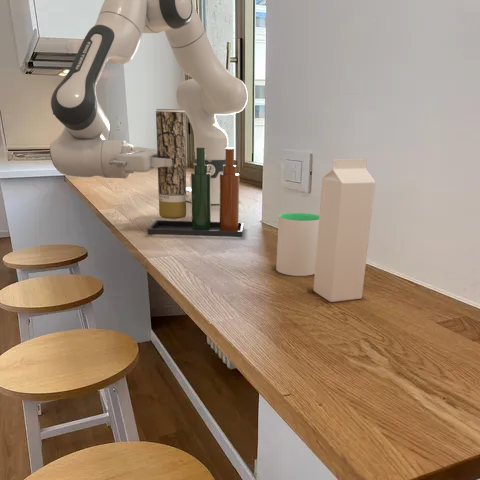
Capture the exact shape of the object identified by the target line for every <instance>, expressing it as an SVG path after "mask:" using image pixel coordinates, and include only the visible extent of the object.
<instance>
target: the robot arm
mask: <svg viewBox="0 0 480 480" xmlns="http://www.w3.org/2000/svg"><path fill="white" fill-rule="evenodd" d="M161 32H164V33H165V36H166V39H167V41H168V44H169V46H170V48H171V50H172V53H173V55H174V58H175V60H176V62H177V64H178V67H179V68H180V70H181V71H182V72H183V73H184V74H185V75H186V76H188V77H190V78H189V79H186V80H183V81H181V82H180V83H179V84H178V86H177V89H176V92H175V93H176V94H175V96H176V97H175V98H176V102H177V105H178V107H179V108H180V110H184V111H185V116H186V117H187V119H188V120H189V123H190V126H191V128H192V132H193V139H194V158H193V163H192V165H193V166H194V165H197V155H196V148H197V147H204V148H205V165H207V173H210V174H211V205H220V174H222V173H223V165H225V163H226V148H229V137H228V134H227V132H226V131H225V130H224V129H223V128H221V127H220V126H219V124H218V122H217V118H216V115H217V116H229V115H234V114H238V113H240V112H242V111H243V110H244V109H245V107H246V105H247V103H248V97H249V95H248V89H247V86H246V84H245V83H244V82H243V80H241V79H239V78H237V77H236V76H235V75H233V74H232V73H231V72H230V71H229V70H228V69H227V68H226V67H225V66H224V65H223V64H222V62H221V61H220V59H219V58H218V57H217V56H216V54H215V52H214V50H213V47H212V45H211V42H210V40H209V37H208V35H207V33H206V29H205V27H204V25H203V22H202V20H201V18H200V16H199V14H198V12H197V9H196V8H195V6H194V4H193V0H104V1H103V3H102V6H101V8H100V11H99V13H98V16H97V19H96V22H95V24H94V25H93V26H92V27H91V28H90V29H89V30H88V32H87V33H86V35H85V37H84V38H83V40H82V42H81V44H80V46H79V49H78V51H77V53H76V55H75V57H74V60H73V62H72V64H71V66H70V68H69V70H68V72H67V74H66V75H65V77H64V78H62V80H61V81H60V83H59V84H58V85H57V86H56V87H55V89H54V91H53V92H52V94H51V98H50V107H51V112H52V113H53V115H54V117H55V118H56V119H57V120H58V121H59V122H60V123H61V124H62V125H63V126H64V128H63V130H62V131H61V133H60V134H59V136H58V137H57V138H56V139H54V140H53V141H51V142H50V144H49V156H50V160H51V162H52V165H53V166H54V168H55V169H56V171H58V172H59V173H60V174H61V175H65V176H69V177H70V176H71V177H77V178H94V177H102V178H105V179H128V177H129V175H130V174H134V173H147V172H148V173H149V172H150V171H152V170H154V169H156V168H157V169H158V167H171V166H172V165H173V159H171V158H157V148H156V149H155V148H148V147H142V146H141V147H140V146H134V145H133V144H132V143H128V142H127V141H126V140H124V139H123V140H122V139H120V140H119V139H110V135H111V124H110V121H109V118H108V117H107V115H106V113H105V111H104V110H103V108H102V107H101V105H100V103H99V101H98V98H97V84H98V82H99V81H100V77H101V75H102V73H103V71H104V68H105V66H106V64H107V63H109V64H113V65H125V64H128V63H130V62H131V61H132V60H133V58H134V57H135V56H136V53H137V51H138V48H139V46H140V43H141V39H142V37H143V34H158V33H161ZM188 185H189V186H186V192H187V191H188V192H189V193H188V195H187V196H186V202H190V203H191V175H189V183H188Z"/></svg>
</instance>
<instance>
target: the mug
mask: <svg viewBox="0 0 480 480" xmlns="http://www.w3.org/2000/svg"><path fill="white" fill-rule="evenodd" d="M277 223H278V224H277V225H278V227H277V228H278V229H277V243H276V245H277V246H276V263H275V264H276V265H275V270H276V272H277V273H280V274H283V275H288V276H293V277H306V276H313V275H315V263H316V251H317V238H318V226H319V214H314V213H307V212H285V213H281V214H279V215H278V222H277Z"/></svg>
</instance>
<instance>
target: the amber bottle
mask: <svg viewBox="0 0 480 480" xmlns="http://www.w3.org/2000/svg"><path fill="white" fill-rule="evenodd" d="M218 212H219V213H218V214H219V215H218V216H219V217H218V218H219V221H218V222H219V231H238V223H239V219H240V218H239V216H240V214H239V212H240V174H239V173H237V165H236V164H235V148H234V147H228V148H226V163H225V165H223V173H222V174H220V204H219V211H218Z"/></svg>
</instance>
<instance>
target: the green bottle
mask: <svg viewBox="0 0 480 480" xmlns="http://www.w3.org/2000/svg"><path fill="white" fill-rule="evenodd" d="M196 155H197V165H193V172H191V173H190V176H191V202H190V203H191V204H190V205H191V221H192V230H211V222H212V204H211V174H210V173H207V165H205V148H204V147H197V148H196Z"/></svg>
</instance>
